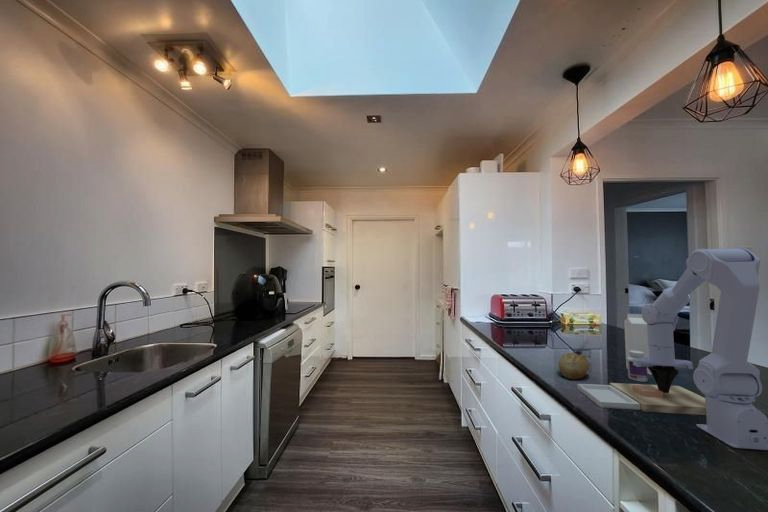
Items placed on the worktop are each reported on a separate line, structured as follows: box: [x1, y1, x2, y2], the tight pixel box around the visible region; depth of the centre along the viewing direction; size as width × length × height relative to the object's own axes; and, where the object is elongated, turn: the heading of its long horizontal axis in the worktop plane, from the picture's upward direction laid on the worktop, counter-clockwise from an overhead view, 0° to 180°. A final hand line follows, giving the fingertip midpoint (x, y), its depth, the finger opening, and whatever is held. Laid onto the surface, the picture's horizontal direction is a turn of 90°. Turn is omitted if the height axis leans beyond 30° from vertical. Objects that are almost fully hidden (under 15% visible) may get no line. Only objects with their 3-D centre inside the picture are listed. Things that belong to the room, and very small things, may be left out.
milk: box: [623, 313, 653, 376], centre depth 115 cm, size 6×6×22 cm
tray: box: [576, 383, 641, 411], centre depth 91 cm, size 10×14×2 cm
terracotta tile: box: [632, 384, 663, 398], centre depth 89 cm, size 5×5×2 cm
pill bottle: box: [627, 351, 649, 383], centre depth 107 cm, size 5×5×10 cm
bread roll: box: [558, 352, 590, 380], centre depth 112 cm, size 10×15×8 cm, turn 142°
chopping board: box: [609, 382, 706, 416], centre depth 89 cm, size 20×16×2 cm
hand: (663, 391), depth 89 cm, fingers closed
